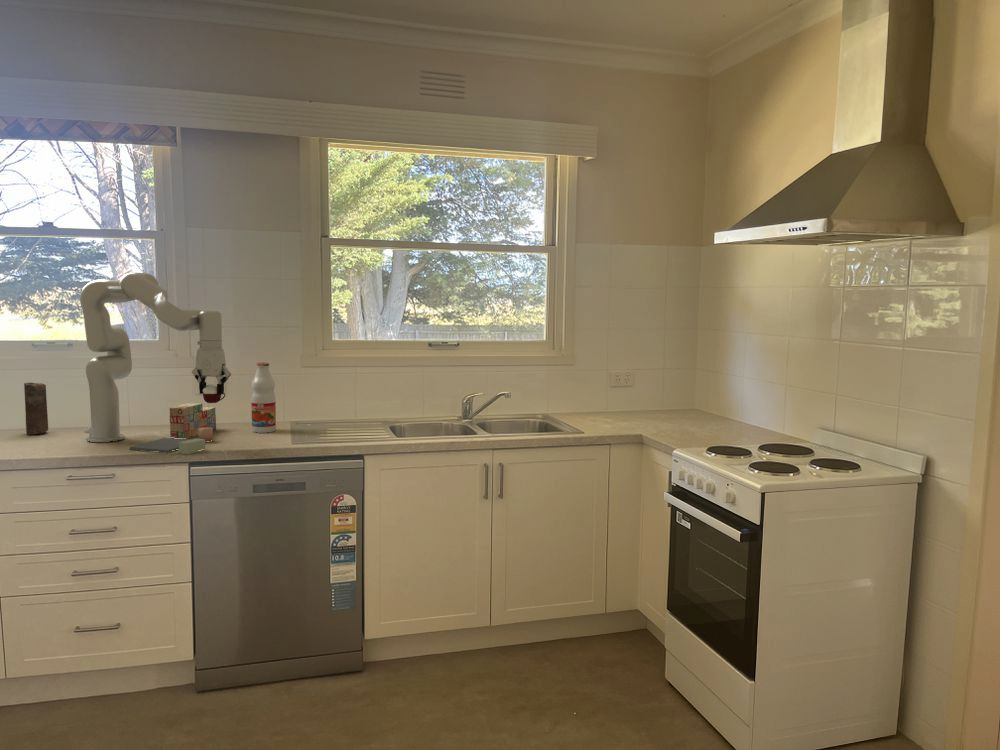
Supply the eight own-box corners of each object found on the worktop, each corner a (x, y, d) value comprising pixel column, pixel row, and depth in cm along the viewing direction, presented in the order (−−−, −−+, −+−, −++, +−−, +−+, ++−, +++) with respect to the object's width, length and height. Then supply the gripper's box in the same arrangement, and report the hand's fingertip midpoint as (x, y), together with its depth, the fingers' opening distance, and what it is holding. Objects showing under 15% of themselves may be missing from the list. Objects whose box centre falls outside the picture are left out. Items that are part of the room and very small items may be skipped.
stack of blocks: (202, 429, 302) (201, 399, 300) (216, 429, 300) (215, 400, 299) (170, 438, 281) (169, 407, 279) (184, 439, 280) (183, 407, 278)
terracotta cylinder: (195, 442, 275) (195, 428, 274) (204, 439, 280) (203, 426, 279) (207, 442, 274) (207, 429, 273) (215, 440, 279) (215, 427, 278)
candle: (30, 432, 288) (27, 381, 286) (51, 431, 290) (48, 381, 288) (23, 435, 281) (20, 384, 278) (45, 435, 283) (42, 383, 280)
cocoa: (225, 402, 271) (227, 370, 270) (221, 404, 265) (223, 371, 264) (199, 400, 270) (200, 368, 269) (194, 402, 263) (195, 369, 263)
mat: (129, 449, 259) (129, 447, 259) (164, 440, 277) (164, 437, 277) (168, 452, 255) (168, 450, 255) (201, 443, 273) (201, 440, 273)
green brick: (179, 453, 256) (178, 442, 256) (197, 449, 263) (196, 438, 263) (187, 454, 254) (187, 443, 254) (205, 450, 262) (205, 439, 261)
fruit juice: (279, 429, 303) (278, 362, 300) (271, 433, 294) (270, 364, 291) (257, 428, 304) (255, 361, 301) (248, 432, 294) (246, 363, 291)
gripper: (183, 344, 264) (184, 393, 265) (225, 346, 259) (226, 396, 261) (196, 343, 271) (197, 391, 273) (238, 345, 267) (238, 393, 268)
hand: (211, 393), depth 267 cm, fingers closed on cocoa, 6 cm apart
